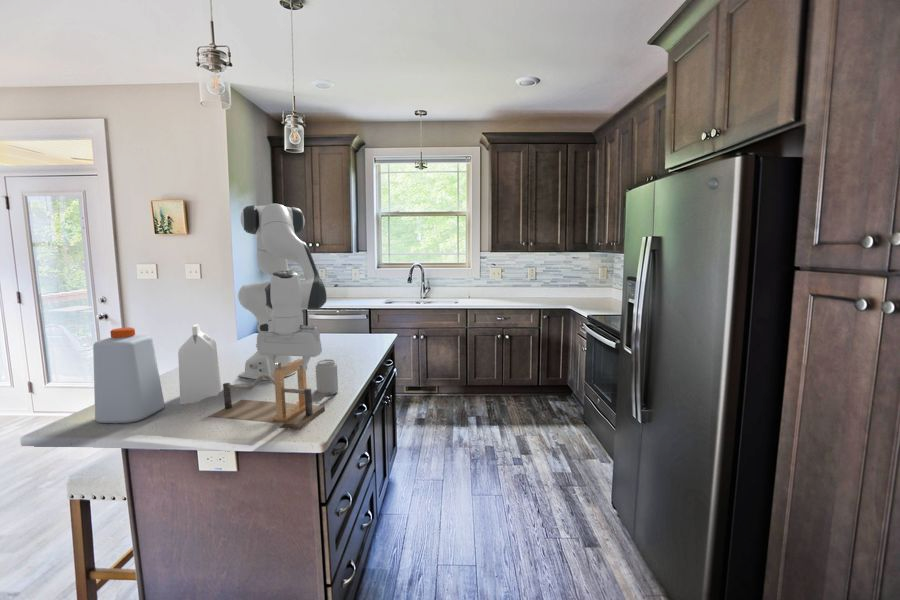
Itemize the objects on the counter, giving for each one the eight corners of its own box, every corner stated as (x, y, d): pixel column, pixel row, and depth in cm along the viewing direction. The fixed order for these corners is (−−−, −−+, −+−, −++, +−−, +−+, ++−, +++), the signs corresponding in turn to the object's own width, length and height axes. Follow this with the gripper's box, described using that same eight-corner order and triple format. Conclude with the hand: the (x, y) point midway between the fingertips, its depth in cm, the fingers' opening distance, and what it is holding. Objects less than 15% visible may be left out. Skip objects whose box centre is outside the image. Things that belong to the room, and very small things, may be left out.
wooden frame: (272, 420, 127) (269, 369, 125) (298, 405, 139) (295, 358, 138) (287, 422, 126) (284, 370, 124) (311, 406, 138) (309, 359, 136)
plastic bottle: (127, 406, 145) (118, 324, 141) (170, 406, 144) (163, 324, 141) (88, 424, 130) (77, 334, 126) (136, 424, 129) (127, 333, 126)
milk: (186, 393, 156) (179, 323, 153) (221, 389, 161) (216, 321, 158) (180, 404, 145) (173, 329, 142) (218, 399, 150) (212, 326, 147)
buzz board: (208, 421, 131) (204, 379, 129) (242, 403, 145) (239, 365, 144) (298, 429, 124) (295, 385, 122) (324, 410, 138) (322, 370, 137)
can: (332, 397, 151) (330, 364, 149) (313, 396, 152) (311, 363, 151) (341, 390, 158) (340, 358, 157) (323, 389, 160) (321, 357, 158)
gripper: (324, 324, 130) (326, 368, 132) (265, 322, 134) (268, 364, 136) (313, 327, 124) (315, 374, 125) (252, 325, 128) (255, 370, 130)
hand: (290, 369), depth 131 cm, fingers open, 8 cm apart
